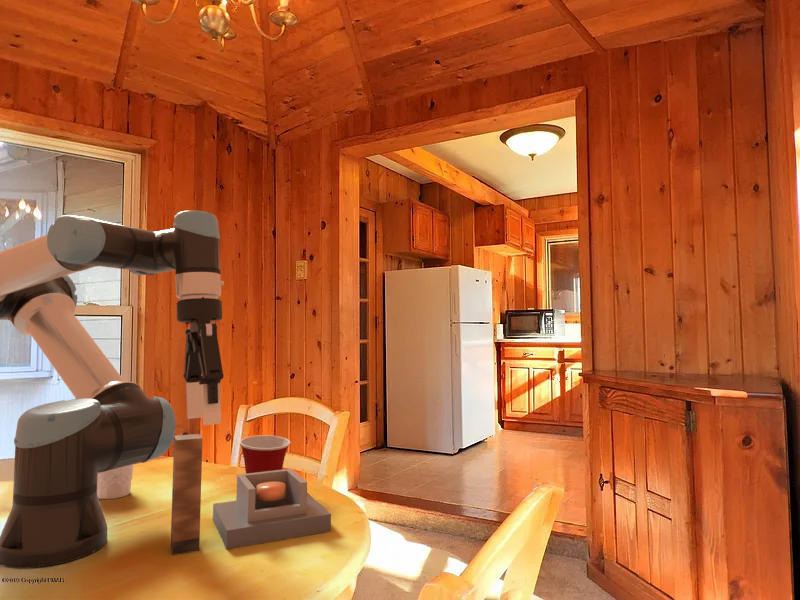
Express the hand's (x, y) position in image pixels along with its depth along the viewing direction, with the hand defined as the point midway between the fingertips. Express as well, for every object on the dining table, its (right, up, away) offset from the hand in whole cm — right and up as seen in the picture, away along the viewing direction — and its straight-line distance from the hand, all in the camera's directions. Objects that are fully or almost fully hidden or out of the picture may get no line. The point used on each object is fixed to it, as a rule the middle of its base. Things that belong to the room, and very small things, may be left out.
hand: (203, 421), depth 93 cm
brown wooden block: (-1, -20, -5) cm, 20 cm away
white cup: (-28, -21, +23) cm, 42 cm away
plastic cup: (+5, -22, +23) cm, 32 cm away
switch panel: (+10, -20, +5) cm, 23 cm away
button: (+10, -15, +6) cm, 19 cm away
